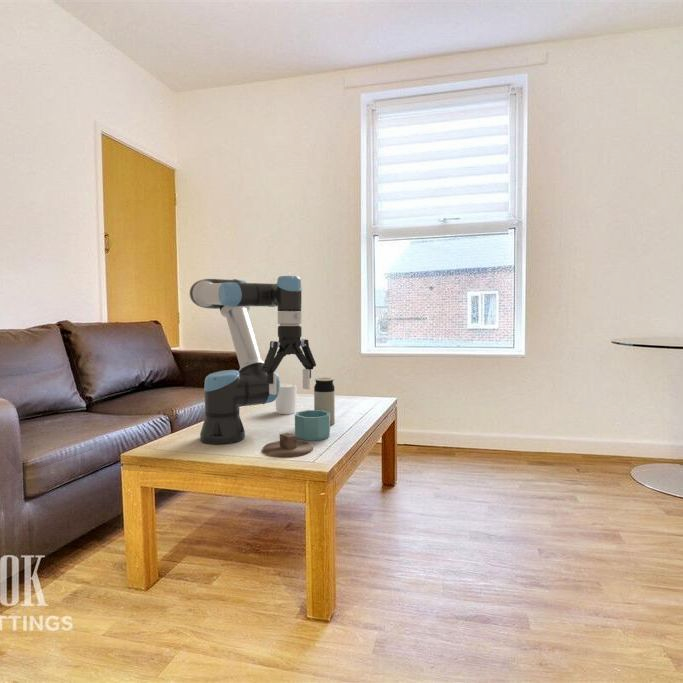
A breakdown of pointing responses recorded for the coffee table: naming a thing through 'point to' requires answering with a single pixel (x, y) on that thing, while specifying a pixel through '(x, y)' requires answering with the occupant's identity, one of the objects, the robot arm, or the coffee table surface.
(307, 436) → the bowl
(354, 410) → the coffee table surface
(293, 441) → the lid
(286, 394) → the candle holder
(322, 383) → the travel mug
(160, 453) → the coffee table surface
